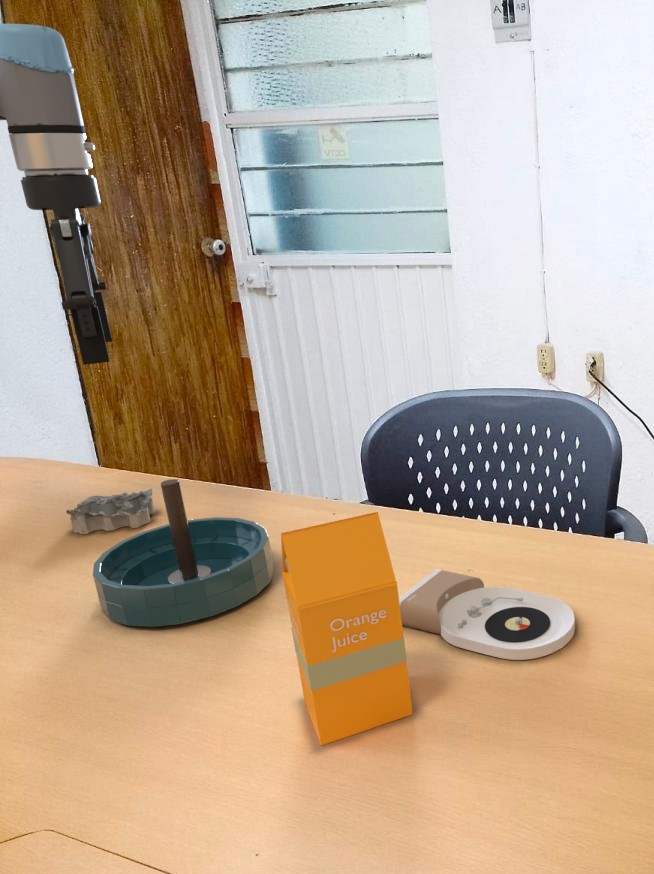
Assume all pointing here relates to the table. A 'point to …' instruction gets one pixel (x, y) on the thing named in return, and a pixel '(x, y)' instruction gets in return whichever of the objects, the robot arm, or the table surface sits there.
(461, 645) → the record player
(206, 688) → the table surface
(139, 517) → the egg carton
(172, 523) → the brown rod
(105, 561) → the bowl
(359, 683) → the orange juice
